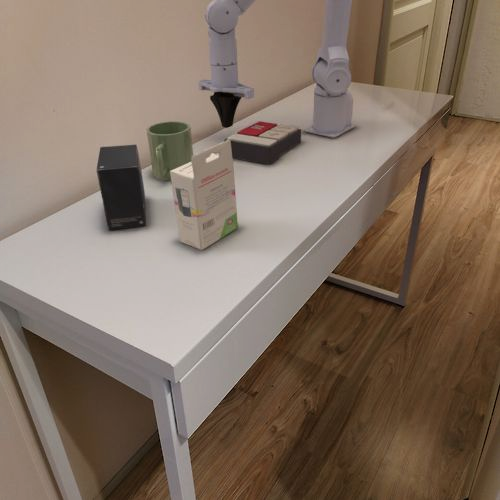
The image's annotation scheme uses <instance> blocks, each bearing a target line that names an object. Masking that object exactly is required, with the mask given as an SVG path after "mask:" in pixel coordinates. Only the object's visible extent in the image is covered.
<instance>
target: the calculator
mask: <svg viewBox="0 0 500 500" xmlns="http://www.w3.org/2000/svg"><path fill="white" fill-rule="evenodd" d="M228 139H229V140H230V142H231V150H232V159H238V160H243V161H248V162H253V163H254V162H255V163H260V164H265V165H271V164H273V163H274V162H276V161H278V160H279V159H280V157H281V156H282V155H283V154H284V153H286V152H288V151H290V149H293V148H294V147H296V146H297V145H299V144H300V143H302V129H301V128H299V126H295V125H288V124H281V123H280V124H278V123H275V122H269V121H268V122H267V121H261V120H260V121H257V122H255V123H253V124H251V125H248V126H247V127H245V128H242V129H241V130H238V131H237V133H235V134H234V133H233V134H232V135H230V136H228V137H227V138H225V139H224V141H223V142H225V141H227V140H228Z"/></svg>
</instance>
